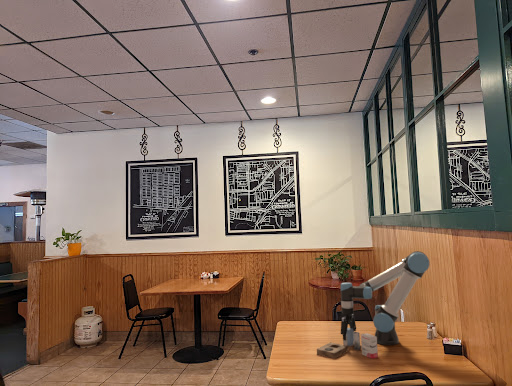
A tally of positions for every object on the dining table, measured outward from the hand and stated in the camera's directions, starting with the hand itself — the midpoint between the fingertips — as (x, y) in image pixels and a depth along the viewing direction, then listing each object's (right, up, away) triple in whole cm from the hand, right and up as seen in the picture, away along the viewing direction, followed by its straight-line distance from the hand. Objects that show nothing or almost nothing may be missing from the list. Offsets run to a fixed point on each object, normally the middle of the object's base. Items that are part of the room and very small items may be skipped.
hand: (349, 343), depth 236 cm
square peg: (0, -1, 0) cm, 1 cm away
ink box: (+7, +1, -21) cm, 22 cm away
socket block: (-13, 0, -13) cm, 19 cm away
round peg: (+3, 0, -9) cm, 9 cm away
